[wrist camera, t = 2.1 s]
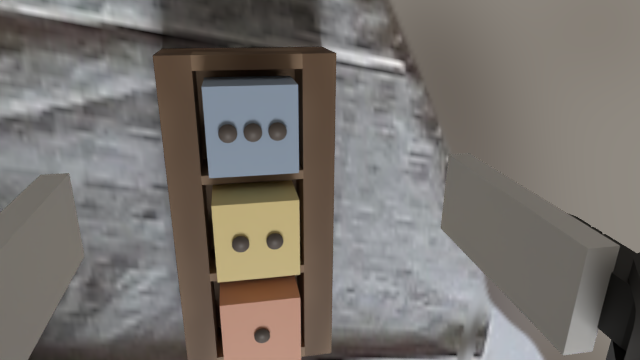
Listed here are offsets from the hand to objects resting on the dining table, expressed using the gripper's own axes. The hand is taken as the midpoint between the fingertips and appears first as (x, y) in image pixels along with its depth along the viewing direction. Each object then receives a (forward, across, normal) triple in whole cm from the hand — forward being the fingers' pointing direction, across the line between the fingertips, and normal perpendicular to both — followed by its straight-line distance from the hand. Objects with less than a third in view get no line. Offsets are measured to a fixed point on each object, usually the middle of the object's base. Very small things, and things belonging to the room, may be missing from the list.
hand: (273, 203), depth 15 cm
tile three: (+12, 0, 0) cm, 12 cm away
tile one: (+12, 0, -12) cm, 17 cm away
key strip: (+14, 0, -6) cm, 15 cm away
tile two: (+12, 0, -6) cm, 13 cm away
